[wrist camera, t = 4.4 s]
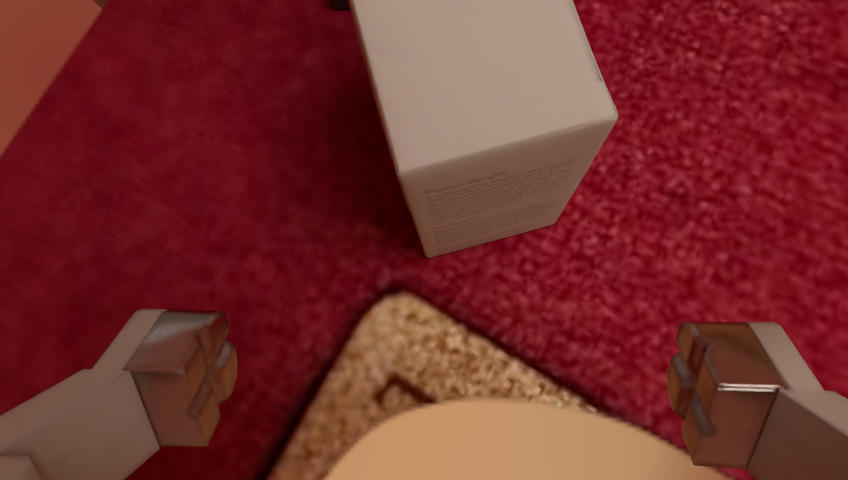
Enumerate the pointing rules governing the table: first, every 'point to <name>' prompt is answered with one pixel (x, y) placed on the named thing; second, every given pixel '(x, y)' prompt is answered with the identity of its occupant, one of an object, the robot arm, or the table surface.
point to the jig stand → (340, 4)
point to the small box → (483, 111)
